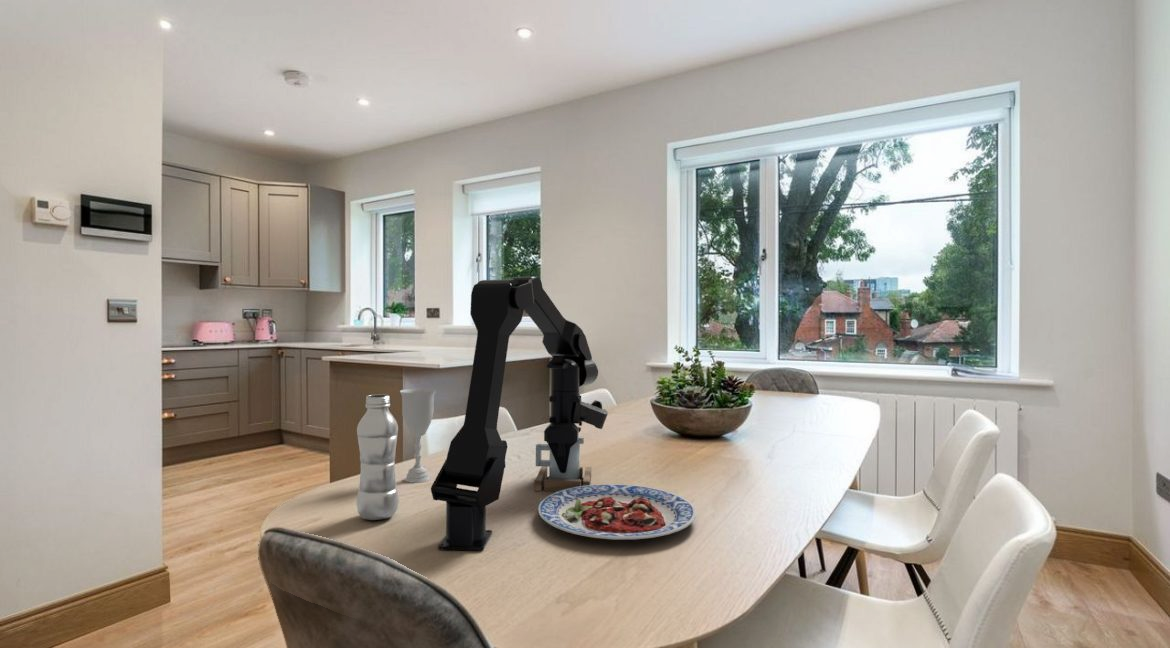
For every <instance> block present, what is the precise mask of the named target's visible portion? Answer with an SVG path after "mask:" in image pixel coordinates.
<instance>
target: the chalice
mask: <svg viewBox="0 0 1170 648" xmlns="http://www.w3.org/2000/svg"><path fill="white" fill-rule="evenodd" d="M436 392H437V389H433V388H407V389H406V388H405V389H401V390H400V391H399V393H400V395H401V397H402V400H401V401H402V405H401V406H402V411H401V412H402V413H401V415H402V418H403V422H404V425H405V426H406V428H407V430H408V432H409V434H410V436H413V437H414V439H415V443H414V445H413V448H415V449H414V450H415V452H414V454H413V455H412V456H413V457H414V459H415V460H414V462H415V463H414V464H413V466H411V467H410V468H409V469H408V472H407V473H406V477H405V479H404V481H405V482H407V483H411V484H417V483H424V482H428V481H430V480H431V476H430V474H429V472H428V469H427V467H426V466H423V464H422V463H421V458H422V456H423V454H422V452H421V449H422V447H423V445H422V442H421V440H422V437H423V436H425V435H426V433H427V432H428V430H429V428H430V425H431V423H432V420H433V416H434V414H435V413H434V410H435V407H434V404H435V403H434V402H435V401H434V400H435V394H436Z"/></svg>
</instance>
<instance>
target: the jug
mask: <svg viewBox="0 0 1170 648" xmlns="http://www.w3.org/2000/svg"><path fill="white" fill-rule="evenodd" d="M578 438H579V439H578V442H577V443H575V444H574V445H573V446H572V447H571V449H570V454H569V459H568V464H567V470H566V473H560V471H559V468H558V466H557V463H556V461H555V459H554V456H553V454H552V452H551V449H550V447H549V445H548V443H536V444H535V467H542V466H545V467H547V468H548V467H549V469H548V470H549V473H548V474H549V477H548V479H575V480H580V478H579V474H580V467H581V465H580V462H581V460H580V459H581V458H580V455H581V452H580V451H581V450H580V446H581V444H582V445H583V444H584V443H585V438H584V437H579V436H578ZM542 451H548V452H549V458H548V459H542Z"/></svg>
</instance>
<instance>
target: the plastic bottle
mask: <svg viewBox="0 0 1170 648" xmlns="http://www.w3.org/2000/svg"><path fill="white" fill-rule="evenodd" d="M365 399H366V400H365V405H364V406H365V409H367V410H366V411H365V414H364V415H363V416H362V417H361V419H360V420H359V422H358V424H357V427H356V435H357V442H358V448H359V449H358V450H359V461H360V463H359V464H360V475H359V487H358V489H359V490H358V492H357V497H356V508H357V513H358V515H359V516H360V517H361V518H362V519H363V520H368V521H369V520H370V521H376V520H383V519H384V520H385V519H388V518H390V517H393V516H394V515H395V514H396V512H397V510H398V508H399V500H400V499H399V498H400V496H399V492H398V487H397V479H396V478H397V476H396V461H395V460H396V448H397V441H398V433H399V426H398V425H399V424H398V422H397V420H396V418H395V417H394V416H393V414H392V412H390V410H389V408H390V407H391V403H390V402H391V401H390V400H391V398H390V395H389V394H370V395H366V398H365Z"/></svg>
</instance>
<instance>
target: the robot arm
mask: <svg viewBox="0 0 1170 648" xmlns="http://www.w3.org/2000/svg"><path fill="white" fill-rule="evenodd" d="M524 312H525V313H526V314H527V316H529V318H530V319H531V320H532V321H533V323H534V324H535V325H536V326H537V328H538V329H539V331H540V332H541V333H542V335H543V337H542V342H541V343H542V344H543V346H544V348H545V350H546V352H547V353H548V355H550V356H551V357H552V358H551V360H550V361H548V362H547V364H546V368H547V369H550V395H549V397H548V398H549V401H548V402H549V403H550V413H549V414H550V416H549V417H548V423H549V424H548V425H547V426H546V427H545V429H544V431H543V441H544V442H546V444H548V445H549V447H550V449H551V452H552V454H553V456H554V459H555V461H556V463H557V466H558V468H559V471H560V473H566V470H567V464H568V459H569V454H570V449H571V447H572V446H573V445H574V444H575V443H577V442H578V439H579V438H580V437H579V435H580V434H579V433H580V432H581V430H582V426H583V423H585V424H589V425H591V426H593V427H594V428H596V429H599V430H603V427H604V424H605V422H606V420H607V417H608V413H609V412H608V410H607V409H605V408H604V409H603V403H602V402H601V401H599V400H597V399H595V400H594V401H593V402H591V403H589V402H584V401H582V395H581V393H580V387H583V386H588V385H591V384H593V383H594V382H595V381H596V380H597V378H598V375H599V368H598V366H597V365H596V362H594V360H592V359H593V357H592V353H591V349H590V347H589V344H588V341H587V337H586V334H585V332H584V331H583V329H582V328H581V327H580V326H579V325H578V324H577V323H575V322H573V321H571V320H568V319H566V318H565V317H564V316H563V315H562V313H561V312H560V311H559V309H558V308H557V306H556V305H555V304H554V302H553V301H552V299H551V298H550V296H549V294H547V292H546V291H545V289H544V288H543V282H542V281H541V278H539V277H537V276H515V277H513V278H510V279H509V278H508V279H505V278H504V279H482V280H479V281H478V282H477V283H476V284H474V285H473V287H472V291H471V295H470V317H471V319H472V321H473V324H474V326H475V328H476V332H477V335H476V339H475V340H476V342H475V346H474V347H475V349H474V353H473V360H472V361H473V363H472V369H471V373H470V375H471V376H470V382H469V386H468V387H469V389H468V395H467V400H466V401H467V402H466V409H465V414H464V421H463V425H462V426H461V428H460V429H459V430H458V432H457V433H456V434H455V435H454V437H453V438H452V439H451V441H450V443H449V446H448V451H447V454H446V459H445V460H444V462H443V464H442V466H441V468H440V470H439V472H438V474H437V475H436V478H435V479H434V481H433V483H432V485H431V486H430V492H431V496H432V499H433V501H441V502H445V505H446V506H445V508H446V509H445V511H446V513H445V515H446V516H445V518H446V519H445V536H444V537H443V538H442V539H441V541H440V543H439V544H438V547H437V549H438V550H454V551H483V550H484V549H485V547H487V543H489V540H490V538H491V536H492V535H493V530H490V529H487V525H486V524H487V506H488V505H490V504H493V503H494V502H496V501H498V500H499V499H500V493H501V488H502V485H503V484H502V483H503V478H504V472H505V468H506V456H507V450H508V443H507V442H508V441H506V440H504V439H502V438H501V435H500V433H499V431H498V420H499V413H500V407H501V398H502V392H503V383H504V377H505V369H506V362H507V356H508V355H507V354H508V349H509V342H510V336H511V335H512V334H513V333H514V331H515V330H516V328H517V327H518V326H519V325H520V324H521V323H522V320H523V317H524V316H523V315H524ZM577 425H578V426H577ZM578 437H579V438H578ZM458 486H464V487H471V488H477V490H472V489H467V488H460V487H458Z"/></svg>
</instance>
